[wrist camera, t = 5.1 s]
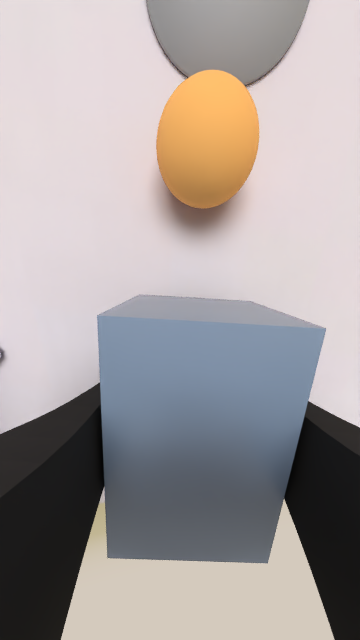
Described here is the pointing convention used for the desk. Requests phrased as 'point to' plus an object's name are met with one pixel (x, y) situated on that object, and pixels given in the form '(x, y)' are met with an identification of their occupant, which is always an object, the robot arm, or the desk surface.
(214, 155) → the ball
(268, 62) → the rest mark
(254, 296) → the desk surface
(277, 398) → the blue-grey rectangular block
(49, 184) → the desk surface
